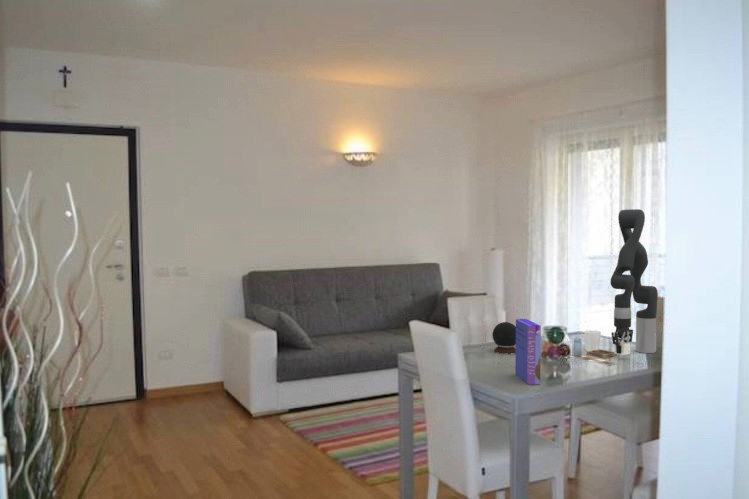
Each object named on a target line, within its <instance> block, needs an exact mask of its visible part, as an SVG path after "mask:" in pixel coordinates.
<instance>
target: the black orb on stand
mask: <svg viewBox="0 0 749 499" xmlns="http://www.w3.org/2000/svg"><path fill="white" fill-rule="evenodd" d="M492 340H493V342H494V343H495V345H496V347H495V348H494V349H493V350H494V351H496V352H499V353H498V354H500V353H508V354H507V355H512V354H511V353H514V354H516V347H515V346H516V325H515V324H514V323H511V322H509V321H504V322H499V323H498V324H497V325H495V327H494V328H493V330H492ZM494 351H493V352H494ZM496 352H495V353H496Z"/></svg>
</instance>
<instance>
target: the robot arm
mask: <svg viewBox="0 0 749 499" xmlns="http://www.w3.org/2000/svg"><path fill="white" fill-rule="evenodd" d="M645 215H646V214H645V212H644V211H643V210H642V209H638V208H636V209H632V208H631V209H630V208H629V209H622V210H619V213H618V216H617V218H618V224H619V227H620V232H621V236H622V239H623V245H622V246H621V248H620V250H619V253H618V259H617V264H616V266H615V269H614V272H613V274H611V278H610V283H609V284H610V286H611V287H612V288H613V289H615V290H623V291H624V292H623V293H619V294H616V295H615V296H614V308H613V309H614V310H613V327H615V331H614V332H613V331H612V332H611V333H610V334H611V338H612V344H613V345H614V346H615V345H616V353H619V354H618V355H621V354H620V353H621V344H622V342H627V343H630V344H631V343H632V342H633V334H634V329H633V328H632V329H631V327H632V309H631V307H632V306H631V303H632V301H631V299H633V301H634V302H635V303H636V304H641V305H647V307H646V308H644V309H642V310H641V309H640V310H637V311H636V313H635V351H636V352H637V353H641V354H654V353H656V352H657V311H658V300H659V295H658V294H659V293H658V292H659V290H658V288H657V287H656V286H653V285H643V284H642V283H641V282H642V281H641V280H642V279H641V278H642V276H643V274H644V272H645V271H646V269H647V267H648V264H649V258H648V254H647V253H648V252H647V250H646V248H645V246H644V245H643V244H642V243H641V242H640V238H641V236H642V233H643V229H644V225H645V221H646V218H645ZM632 229H633V230H632ZM626 272H629V274H624V273H626Z"/></svg>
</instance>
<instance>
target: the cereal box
mask: <svg viewBox="0 0 749 499" xmlns="http://www.w3.org/2000/svg"><path fill="white" fill-rule="evenodd" d="M515 327H516V344H515V348H516V353H515V369H514V370H515V372H514V373H515V374H514V375H515V376H516V377H517V378H519V379H520V380H522V381H523V382H524V383H525V384H526V385H527V386H540V385H541V367H542V366H541V365H542V364H541V360H542V358H541V354H542V352H541V350H542V349H541V348H542V346H541V345H542V344H541V342H542V341H541V340H542V337H541V336H542V332H541V331H542V325H541V324H538V323H536V322H533V321H532V320H530V319H527V318H516V319H515Z"/></svg>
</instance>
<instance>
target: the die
mask: <svg viewBox="0 0 749 499" xmlns="http://www.w3.org/2000/svg"><path fill="white" fill-rule="evenodd" d="M614 352H615V353H616V345H615V344H614ZM616 354H617V355H622V356H626V355H629V354H631V342H630V343H627V342H623V341H622V344H621V353H620V354H619V353H616Z"/></svg>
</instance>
